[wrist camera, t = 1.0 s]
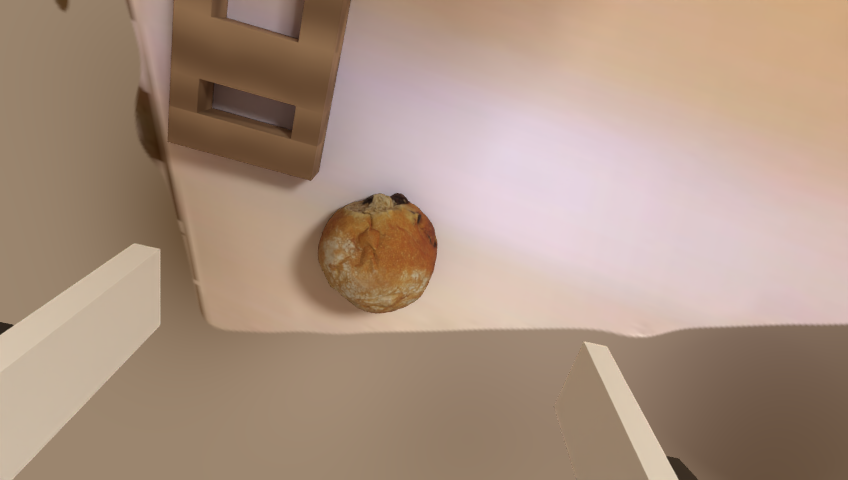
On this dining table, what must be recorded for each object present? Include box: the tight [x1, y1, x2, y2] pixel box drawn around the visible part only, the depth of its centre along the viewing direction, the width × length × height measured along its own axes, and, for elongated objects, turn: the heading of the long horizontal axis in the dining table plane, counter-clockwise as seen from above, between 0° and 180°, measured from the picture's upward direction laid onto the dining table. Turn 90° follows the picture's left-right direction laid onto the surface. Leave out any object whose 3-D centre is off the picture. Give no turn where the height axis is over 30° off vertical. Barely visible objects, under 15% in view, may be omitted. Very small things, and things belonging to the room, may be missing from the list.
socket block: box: [168, 0, 351, 181], centre depth 33 cm, size 18×11×2 cm, turn 165°
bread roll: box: [318, 193, 437, 313], centre depth 39 cm, size 10×10×8 cm
